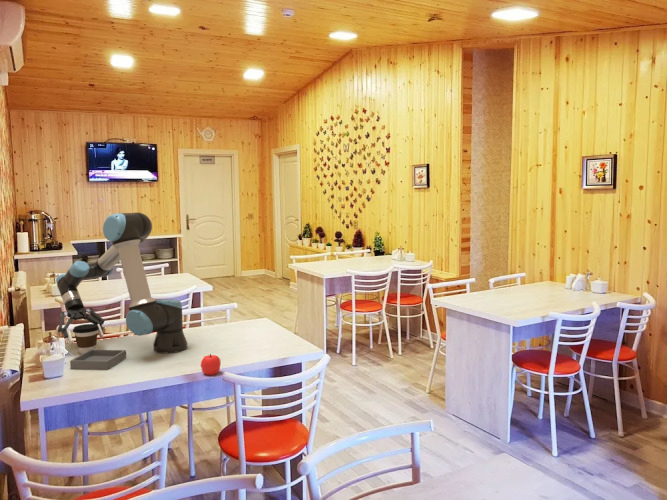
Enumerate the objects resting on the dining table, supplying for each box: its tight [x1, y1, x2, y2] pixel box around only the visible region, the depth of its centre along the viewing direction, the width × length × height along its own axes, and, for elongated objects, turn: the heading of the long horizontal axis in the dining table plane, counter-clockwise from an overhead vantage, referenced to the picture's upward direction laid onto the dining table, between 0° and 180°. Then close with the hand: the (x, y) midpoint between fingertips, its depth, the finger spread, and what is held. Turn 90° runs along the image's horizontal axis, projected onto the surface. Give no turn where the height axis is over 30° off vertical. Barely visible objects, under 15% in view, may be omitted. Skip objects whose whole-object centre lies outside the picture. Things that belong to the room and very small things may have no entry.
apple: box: [200, 353, 221, 376], centre depth 216 cm, size 8×8×8 cm
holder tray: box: [69, 349, 127, 371], centre depth 231 cm, size 16×16×4 cm
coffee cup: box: [72, 323, 99, 355], centre depth 247 cm, size 11×11×12 cm
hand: (86, 339), depth 246 cm, fingers open, 13 cm apart
